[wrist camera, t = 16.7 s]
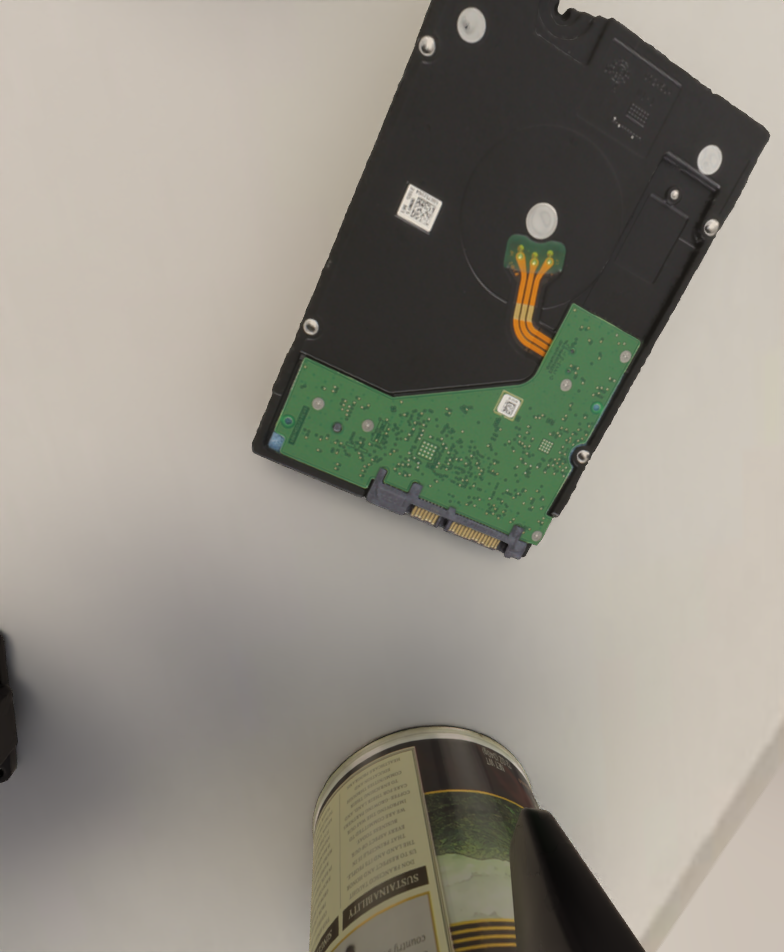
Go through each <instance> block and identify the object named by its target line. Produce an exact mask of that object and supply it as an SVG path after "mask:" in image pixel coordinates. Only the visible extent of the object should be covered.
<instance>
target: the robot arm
mask: <svg viewBox="0 0 784 952" xmlns="http://www.w3.org/2000/svg"><path fill="white" fill-rule="evenodd" d="M16 745H17V732H16V723H15V713H14V704H13V694H12V690H11V688H10V687H9V682H8V673H7V664H6V654H5V645H4V640H3V637H2V636H1V635H0V768H1V769H0V783H2V782H5V781H7V780H8V779H9V778H10V776H11V775H12V774H13V772H14V771H15V770H16V768H17V757H16V748H15V746H16ZM509 859H510V872H511V885H512V897H513V910H514V922H515V935H516V947H517V952H645V950H644V949H643V947H642V946H641V944H640V943H639V941H638V940H637V938H636V937H635V936H634V934H633V933H632V931H631V930H630V928H629V927H628V925H627V924H626V922H625V921H624V919H623V918H622V916H621V915H620V914H619V912H618V911H617V909H616V908H615V906H614V905H613V903H612V902H611V900H610V899H609V897H608V896H607V894H606V893H605V892H604V890H603V889H602V887H601V886H600V884H599V883H598V881H597V880H596V878H595V877H594V875H593V874H592V872H591V871H590V870H589V868H588V867H587V865H586V864H585V862H584V861H583V859H582V858H581V856H580V855H579V853H578V852H577V850H576V849H575V848H574V846H573V845H572V843H571V842H570V840H569V839H568V837H567V836H566V834H565V833H564V831H563V830H562V828H561V827H560V826H559V824H558V823H557V821H556V820H555V818H554V817H553V816H552V814H551V813H549V812H548V811H546V810H542V809H535V808H528V807H526V808H523V809H522V810H521V812H520V815H519V818H518V821H517V824H516V827H515V830H514V833H513V836H512V839H511V843H510V851H509Z"/></svg>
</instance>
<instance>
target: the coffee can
mask: <svg viewBox="0 0 784 952" xmlns="http://www.w3.org/2000/svg"><path fill="white" fill-rule="evenodd" d="M526 807H528V808H535V809H539V807H538V804H537V802H536V800H535V798H534V796H533V793H532V789H531V785H530V782H529V780H528V777H527V775H526V773H525V771H524V769H523V768H522V766H521V765H520V763H519V762H518V761H517V759H516V758H515V757H514V756H513V755H512V754H511V753H510V752H509V751H508V750H507V749H506V748H504V747H503V746H502V745H501V744H499V743H498V742H496V741H495V740H493V739H491V738H489V737H487V736H484V735H482V734H479V733H476V732H473V731H470V730H466V729H461V728H457V727H445V726H430V727H420V728H413V729H408V730H404V731H399V732H396V733H394V734H391V735H388V736H385V737H383V738H381V739H379V740H376V741H374V742H372V743H370V744H368V745H367V746H365V747H364V748H362V749H361V750H359V751H358V752H356V753H355V754H354V755H352V756H351V757H350V758H349V759H348V760H346V761H345V762H344V763H343V764H342V765H341V766H340V767H339V768H338V769H337V770H336V771H335V772H334V773H333V774H332V776H331V777H330V778H329V780H328V782H327V783H326V785H325V787H324V789H323V791H322V792H321V794H320V796H319V798H318V801H317V804H316V808H315V811H314V815H313V827H312V833H313V843H314V849H313V874H312V897H311V920H310V944H309V952H517V947H516V935H515V922H514V910H513V897H512V885H511V872H510V859H509V851H510V843H511V839H512V836H513V833H514V830H515V827H516V824H517V821H518V818H519V815H520V812H521V810H522V809H523V808H526Z"/></svg>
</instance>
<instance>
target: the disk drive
mask: <svg viewBox="0 0 784 952" xmlns="http://www.w3.org/2000/svg"><path fill="white" fill-rule="evenodd" d="M558 5H559V0H431V3H430V5H429V8H428V10H427V13H426V15H425V18H424V22H423V24H422V27H421V29H420V32H419V34H418V37H417V40H416V43H415V47H414V49H413V52H412V55H411V57H410V59H409V62H408V64H407V66H406V68H405V71H404V74H403V77H402V79H401V81H400V83H399V84H398V88H397V91H396V93H395V95H394V98H393V101H392V103H391V105H390V108H389V110H388V113H387V115H386V118H385V120H384V123H383V125H382V128H381V130H380V132H379V135H378V138H377V140H376V142H375V145H374V148H373V150H372V152H371V155H370V157H369V159H368V161H367V163H366V167H365V169H364V171H363V174H362V176H361V179H360V181H359V183H358V185H357V188H356V191H355V194H354V196H353V198H352V201H351V203H350V205H349V207H348V210H347V213H346V214H345V218H344V220H343V222H342V225H341V227H340V230H339V232H338V235H337V238H336V241H335V242H334V245H333V247H332V249H331V252H330V255H329V258H328V260H327V262H326V264H325V266H324V268H323V270H322V273H321V276H320V279H319V281H318V283H317V286H316V289H315V291H314V293H313V296H312V297H311V300H310V302H309V305H308V307H307V309H306V312H305V315H304V317H303V320H302V322H301V323H300V328H299V330H298V332H297V334H296V338H295V341H294V342H293V344H292V347H291V348H290V350H289V353H288V354H287V355H286V358H285V360H284V363H283V365H282V367H281V369H280V372H279V375H278V377H277V380H276V381H275V383H274V385H273V389H272V392H273V393H272V397H271V399H270V401H269V403H268V406H267V409H266V411H265V413H264V415H263V417H262V420H261V422H260V425H259V428H258V430H257V433H256V435H255V438H254V440H253V442H252V451H253V453H255V454H257V455H259V456H261V457H264V458H266V459H269V460H271V461H274V462H276V463H278V464H281V465H283V466H285V467H288V468H291V469H293V470H296V471H298V472H300V473H303V474H305V475H307V476H310V477H312V478H314V479H318V480H320V481H322V482H324V483H327V484H329V485H332V486H334V487H336V488H339V489H341V490H344V491H346V492H348V493H351V494H354V495H356V496H358V497H363V496H365V498H366V500H367V501H368V502H370V503H372V504H374V505H376V506H379V507H382V508H384V509H388V510H390V511H392V512H394V513H397V514H399V515H404V514H405V512H406V513H408V514H410V515H411V517H413V518H415V519H417V520H419V521H423V522H426V523H427V524H430V525H432V526H434V527H436V528H437V527H438V526H441V527H443V528H444V531H446V532H450V533H452V534H455V535H457V536H459V537H462V538H465V539H467V540H470V541H472V542H475V543H477V544H479V545H482V546H484V547H487V548H489V549H491V550H495V549H497V550H499V551H501V552H502V553H504V556H505V557H506V558H511V557H513V558H515V559H520V558H521V557H525V556H526V554H527V552H528V550H529V548H530V547H531V545H532V544H533V545H537V544H538V543H539V542H540V541H541V540H542V538H543V536H544V534H545V532H546V530H547V528H548V526H549V524H550V522H551V520H552V518H554V517H558V516H559V515H560V513H561V511H562V510H563V509H564V507H565V505H566V504H567V503H568V500H569V499H570V496H571V494H572V492H573V491H574V490H575V488H576V484H577V482H578V480H579V478H580V476H581V474H582V472H583V471H584V470H585V466H586V465H587V464H588V461H589V460H590V458H591V455H592V453H593V452H594V451H595V449H596V448H597V446H598V444H599V443H600V441H601V439H602V437H603V435H604V433H605V431H606V430H607V428H608V427H609V425H610V424H611V422H612V420H613V418H614V416H615V414H616V413H617V411H618V408H619V407H620V406H621V403H622V402H623V401H624V399H625V396H626V394H627V393H628V392H629V389H630V387H631V386H632V384H633V382H634V380H635V379H636V377H637V375H638V373H639V372H640V369H641V367H642V366H643V365H644V364H645V361H646V358H647V357H648V356H649V354H650V353H651V350H652V348H653V346H654V344H655V342H656V340H657V338H658V337H659V335H660V334H661V332H662V330H663V329H664V327H665V325H666V323H667V322H668V320H669V317H670V315H671V314H672V313H673V311H674V309H675V308H676V306H677V304H678V302H679V301H680V298H681V296H682V295H683V293H684V291H685V290H686V288H687V286H688V284H689V282H690V280H691V278H692V276H693V274H694V272H695V271H696V270H697V269H698V267H699V265H700V263H701V261H702V259H703V258H704V256H705V254H706V252H707V250H708V248H709V247H710V245H711V243H712V241H713V239H714V238H715V237H716V233H717V232H718V231H719V229H720V228H721V227H722V225H723V223H724V221H725V220H726V218H727V217H728V215H729V213H730V212H731V210H732V209H733V208H734V205H735V203H736V201H737V199H738V198H739V196H740V195H741V192H742V190H743V188H744V187H745V185H746V183H747V180H748V177H749V175H750V173H751V172H752V170H753V168H754V166H755V164H756V163H757V159H758V157H759V155H760V154H761V152H762V150H763V148H764V147H765V145H766V144H767V142H768V141H769V137H770V134H769V132H768V131H767V130H766V129H765V128H764V126H762V125H761V124H759V123H758V122H756V121H755V120H753V119H752V118H751V117H749V116H748V115H747V114H746V113H744V112H742V111H741V110H739V109H738V108H736V107H735V106H733V105H731V104H730V103H729V102H728V101H727V100H725V99H724V98H723V97H721V96H719V95H718V94H712V91H711V89H709V88H707V87H706V86H704V85H703V84H701V83H700V82H699V81H698V80H697V79H695V78H693V77H692V76H691V75H690V74H689V73H687V72H686V71H684V70H683V69H682V68H680V67H679V66H677V65H676V64H674V63H673V62H671V61H670V60H669V59H668V58H667V57H666V56H665V55H663V54H662V53H661V52H660V51H658V50H656V49H655V48H654V47H653V46H651V45H649V44H648V43H646V42H644V41H643V40H642V39H641V38H639V37H638V36H637V35H636V34H635V33H633V32H632V31H630V30H629V29H628V28H627V27H625V26H624V25H623V24H621V23H620V22H618V21H616V20H615V19H614V18H610V19H606V18H604V17H601V16H597V17H594V16H592V15H590V14H588V13H585V12H579V11H577V10H575V9H574V8H569V9H567V11H566V12H565V13H564V14H563V15H561V14H559V13H558Z"/></svg>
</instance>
